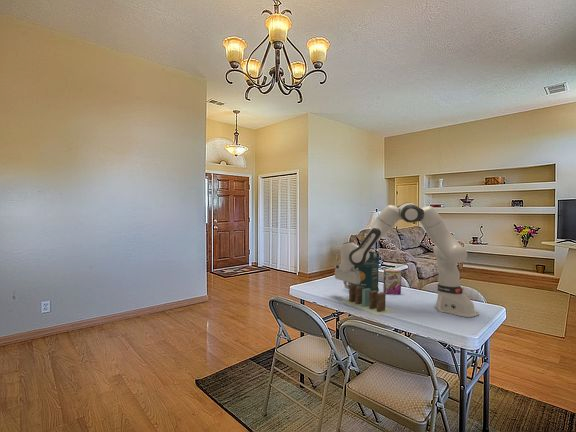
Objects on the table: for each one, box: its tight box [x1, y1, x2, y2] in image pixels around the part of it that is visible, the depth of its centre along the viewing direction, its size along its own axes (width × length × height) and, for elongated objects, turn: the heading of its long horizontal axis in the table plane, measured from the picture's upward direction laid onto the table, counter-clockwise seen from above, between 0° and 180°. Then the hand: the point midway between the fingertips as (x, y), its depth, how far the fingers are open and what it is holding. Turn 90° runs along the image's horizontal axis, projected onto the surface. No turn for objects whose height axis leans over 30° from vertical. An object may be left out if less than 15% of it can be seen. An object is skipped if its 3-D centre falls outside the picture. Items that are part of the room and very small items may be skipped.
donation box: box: [351, 251, 380, 293], centre depth 219 cm, size 16×16×28 cm
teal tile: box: [362, 288, 371, 307], centre depth 185 cm, size 2×5×10 cm, turn 123°
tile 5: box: [348, 285, 357, 302], centre depth 194 cm, size 2×5×10 cm, turn 123°
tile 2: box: [369, 290, 379, 309], centre depth 180 cm, size 2×5×10 cm, turn 123°
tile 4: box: [355, 286, 364, 304], centre depth 189 cm, size 2×5×10 cm, turn 123°
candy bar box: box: [383, 268, 402, 295], centre depth 215 cm, size 11×5×16 cm, turn 84°
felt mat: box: [339, 298, 396, 316], centre depth 185 cm, size 31×15×1 cm, turn 33°
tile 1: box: [377, 292, 387, 312], centre depth 176 cm, size 2×5×10 cm, turn 123°
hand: (347, 288), depth 199 cm, fingers closed
